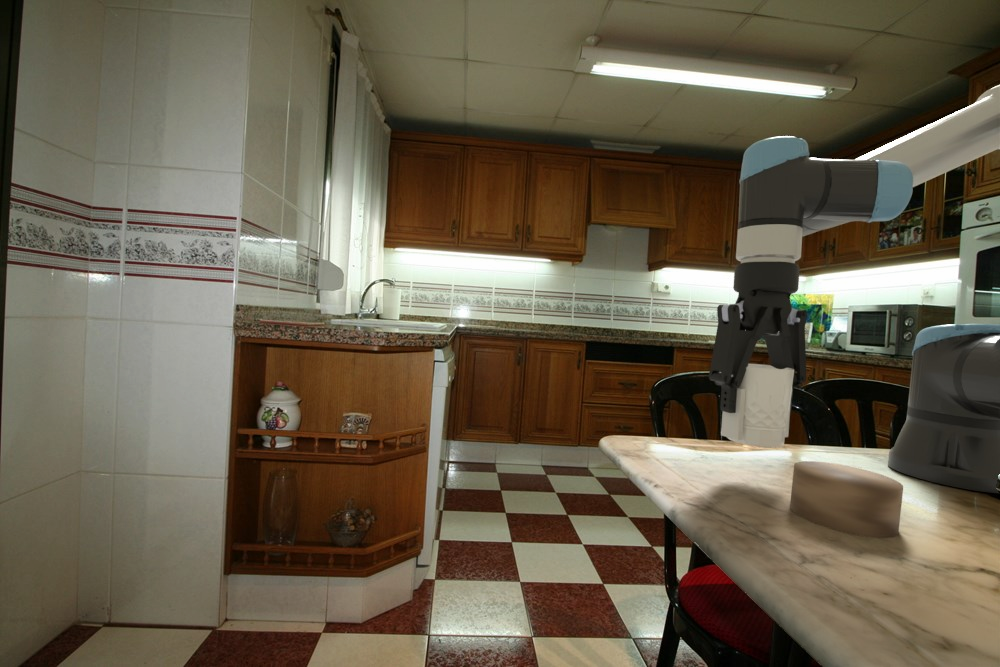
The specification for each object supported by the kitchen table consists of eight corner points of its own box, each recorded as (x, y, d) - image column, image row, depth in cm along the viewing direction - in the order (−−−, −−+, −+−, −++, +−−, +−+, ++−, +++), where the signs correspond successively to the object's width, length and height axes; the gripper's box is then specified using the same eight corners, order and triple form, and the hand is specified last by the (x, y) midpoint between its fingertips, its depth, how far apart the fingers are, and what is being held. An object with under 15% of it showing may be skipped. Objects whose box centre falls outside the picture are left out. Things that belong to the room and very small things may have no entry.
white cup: (772, 436, 70) (777, 365, 70) (800, 451, 62) (806, 371, 62) (714, 432, 71) (718, 361, 71) (734, 446, 63) (739, 367, 63)
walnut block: (851, 504, 61) (855, 464, 61) (924, 541, 51) (929, 493, 51) (771, 499, 61) (775, 458, 61) (829, 536, 51) (834, 487, 51)
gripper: (794, 270, 73) (784, 427, 74) (684, 258, 65) (673, 432, 66) (847, 267, 66) (834, 439, 67) (731, 252, 58) (718, 447, 59)
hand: (754, 436), depth 67 cm, fingers closed on white cup, 8 cm apart
